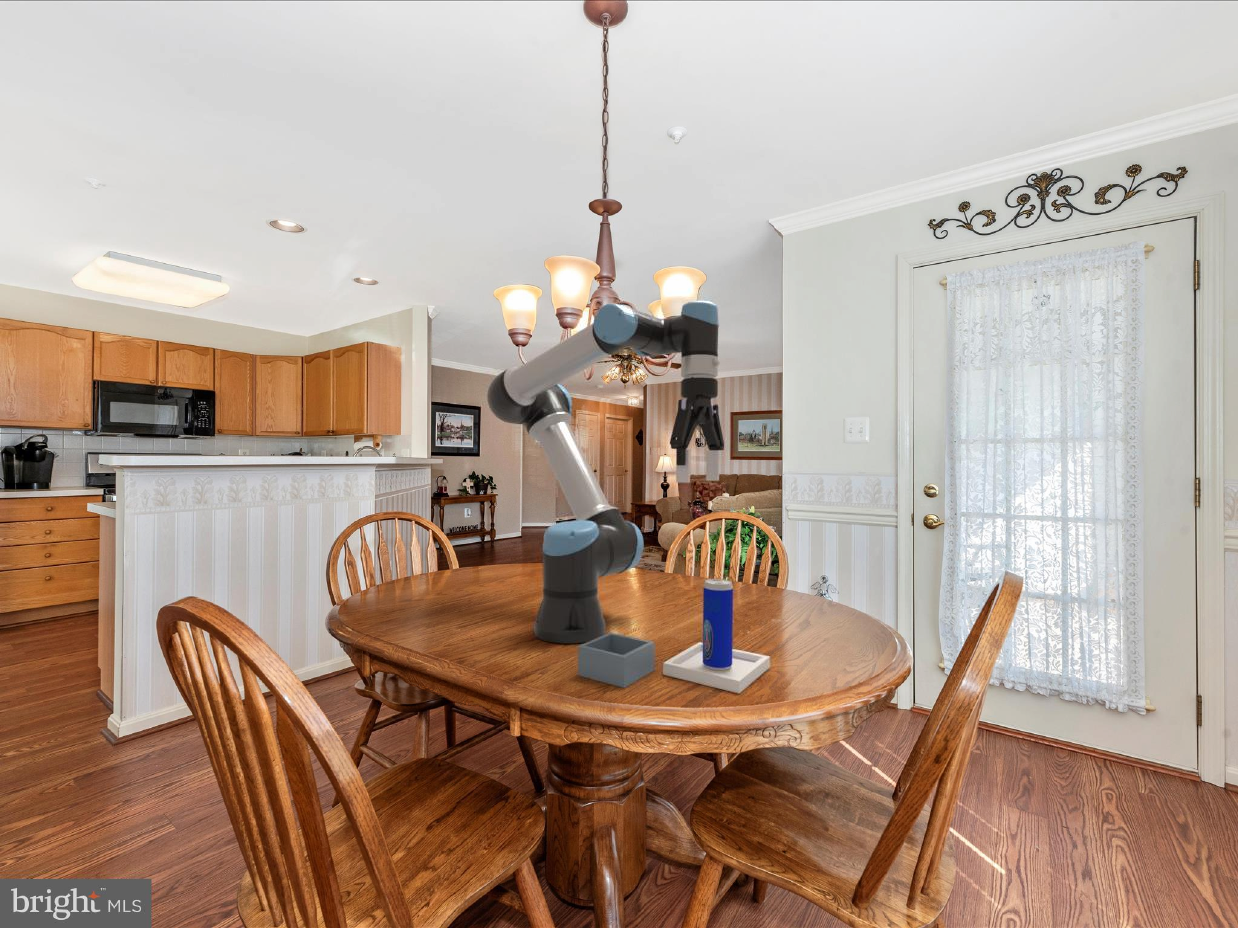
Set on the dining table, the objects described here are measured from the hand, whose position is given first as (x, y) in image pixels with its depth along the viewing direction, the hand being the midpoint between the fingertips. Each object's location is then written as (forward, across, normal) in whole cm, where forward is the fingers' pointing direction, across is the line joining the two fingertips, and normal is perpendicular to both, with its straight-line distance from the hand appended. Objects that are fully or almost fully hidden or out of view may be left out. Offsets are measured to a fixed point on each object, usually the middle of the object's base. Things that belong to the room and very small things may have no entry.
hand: (698, 481), depth 119 cm
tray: (+33, -14, -11) cm, 37 cm away
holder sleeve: (+33, -25, +3) cm, 41 cm away
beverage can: (+32, -14, -11) cm, 37 cm away
